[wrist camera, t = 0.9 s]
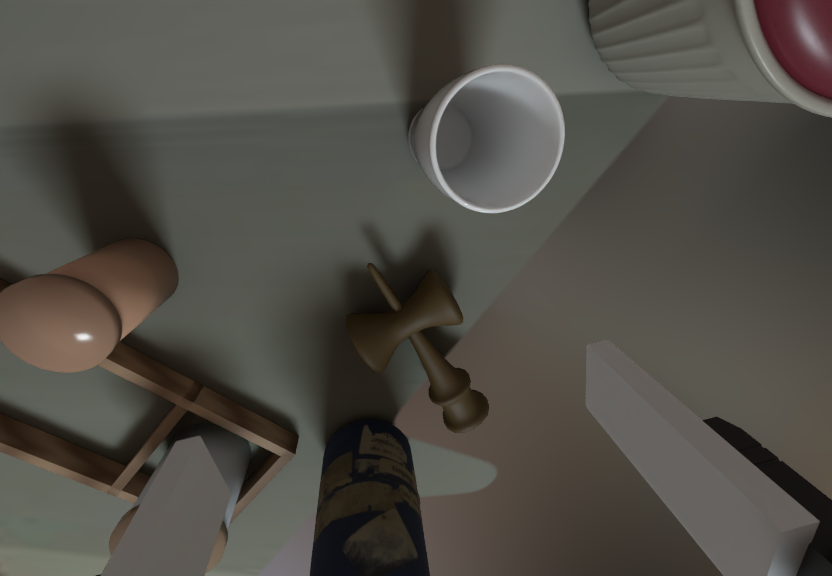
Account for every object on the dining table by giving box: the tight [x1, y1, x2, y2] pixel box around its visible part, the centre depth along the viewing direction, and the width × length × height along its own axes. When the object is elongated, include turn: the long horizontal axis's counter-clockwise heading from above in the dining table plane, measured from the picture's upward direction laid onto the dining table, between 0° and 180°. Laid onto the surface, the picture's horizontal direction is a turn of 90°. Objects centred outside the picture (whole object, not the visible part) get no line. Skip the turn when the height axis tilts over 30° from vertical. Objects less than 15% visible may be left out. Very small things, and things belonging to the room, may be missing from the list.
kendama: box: [346, 263, 489, 433], centre depth 36 cm, size 6×10×20 cm
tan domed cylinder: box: [0, 239, 179, 373], centre depth 28 cm, size 6×6×10 cm
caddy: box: [0, 279, 299, 524], centre depth 37 cm, size 29×14×2 cm, turn 48°
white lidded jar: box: [109, 423, 251, 573], centre depth 36 cm, size 9×9×10 cm
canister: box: [310, 420, 430, 576], centre depth 35 cm, size 10×10×18 cm
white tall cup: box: [408, 64, 565, 213], centre depth 25 cm, size 7×7×15 cm
